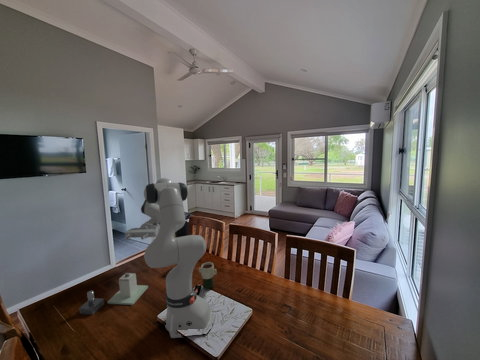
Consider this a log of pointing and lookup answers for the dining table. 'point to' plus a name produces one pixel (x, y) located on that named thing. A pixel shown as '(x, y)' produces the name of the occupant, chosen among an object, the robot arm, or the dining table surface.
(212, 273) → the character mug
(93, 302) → the post
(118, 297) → the pad
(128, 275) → the white upright box
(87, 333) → the dining table surface
